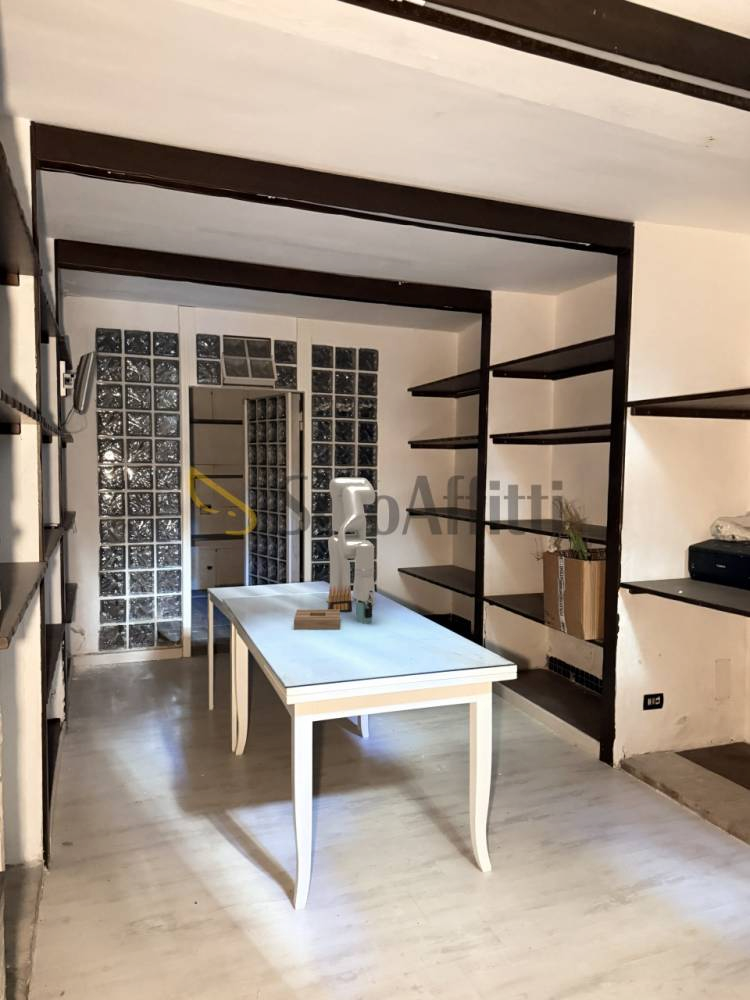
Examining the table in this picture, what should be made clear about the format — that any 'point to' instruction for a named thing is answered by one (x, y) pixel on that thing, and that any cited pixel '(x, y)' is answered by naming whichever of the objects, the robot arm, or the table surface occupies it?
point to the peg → (362, 612)
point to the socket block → (317, 619)
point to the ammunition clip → (340, 599)
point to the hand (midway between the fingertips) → (364, 615)
